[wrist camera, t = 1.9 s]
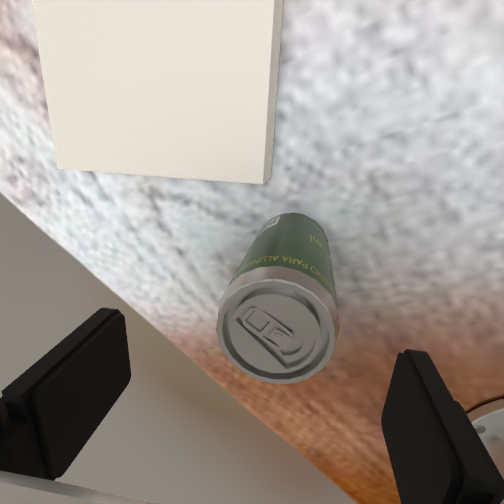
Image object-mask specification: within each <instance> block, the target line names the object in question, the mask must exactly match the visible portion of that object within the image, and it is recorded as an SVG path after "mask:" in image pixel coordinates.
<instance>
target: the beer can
mask: <svg viewBox="0 0 504 504" xmlns="http://www.w3.org/2000/svg"><path fill="white" fill-rule="evenodd" d="M339 329H340V328H339V315H338V307H337V300H336V293H335V286H334V280H333V273H332V266H331V259H330V253H329V246H328V240H327V237H326V235H325V233H324V231H323V229H322V228H321V227H320V226H319V225H318V224H317V223H316V222H315V221H314V220H312V219H310V218H308V217H306V216H304V215H299V214H294V213H292V214H283V215H280V216H277V217H275V218H273V219H271V220H270V221H269V222H268V223H267V224H266V225H264V226H263V228H262V229H261V231H260V233H259V234H258V236H257V238H256V240H255V241H254V243H253V245H252V246H251V248H250V250H249V251H248V253H247V255H246V256H245V258H244V260H243V262H242V263H241V265H240V267H239V268H238V270H237V272H236V273H235V275H234V277H233V278H232V280H231V282H230V284H229V285H228V287H227V289H226V291H225V293H224V294H223V296H222V298H221V300H220V305H219V312H218V322H217V329H216V330H217V334H218V339H219V344H220V346H221V348H222V350H223V351H224V353H225V355H226V356H227V358H228V359H229V360H230V361H231V362H232V363H233V364H234V365H235V366H236V367H237V368H238V369H239V370H240V371H242V372H243V373H245V374H247V375H249V376H251V377H253V378H254V379H257V380H261V381H264V382H268V383H272V384H291V383H295V382H299V381H302V380H306V379H308V378H310V377H311V376H313V375H314V374H316V373H318V372H319V371H321V370H322V368H323V367H324V366H325V365H326V363H327V362H328V361H329V360H330V358H331V356H332V352H333V349H334V346H335V343H336V339H337V336H338V332H339Z"/></svg>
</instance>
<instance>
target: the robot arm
mask: <svg viewBox="0 0 504 504" xmlns="http://www.w3.org/2000/svg"><path fill="white" fill-rule="evenodd" d="M130 378H131V370H130V360H129V351H128V343H127V334H126V326H125V317H124V315H123V314H121V312H120V311H119V310H118V309H110V308H101V309H99V310H98V311H97V312H96V313H94V314H93V315H92V316H91V317H90V318H88V319H87V320H86V321H85V322H84V323H82V324H81V325H80V326H79V327H78V328H76V329H75V330H74V331H73V332H72V333H71V334H69V335H68V336H67V337H66V338H65V339H63V340H62V341H61V342H60V343H59V344H57V345H56V346H55V347H54V348H53V349H51V350H50V351H49V352H48V353H47V354H45V355H44V356H43V357H42V358H41V359H40V360H38V361H37V362H36V363H35V364H34V365H32V366H31V367H30V368H29V369H28V370H26V371H25V372H24V373H23V374H22V375H20V376H19V377H18V378H17V379H16V380H14V381H13V382H12V383H11V384H10V385H8V386H7V387H6V388H5V389H4V390H2V395H3V396H2V397H1V398H0V504H157V503H153V502H148V501H144V500H139V499H135V498H130V497H125V496H120V495H116V494H112V493H107V492H103V491H98V490H93V489H89V488H84V487H79V486H75V485H70V484H65V483H61V482H56V481H54V480H55V479H56V478H59V477H61V476H62V475H63V474H64V473H65V472H66V470H67V469H68V467H69V466H70V465H71V463H72V462H73V461H74V459H75V458H76V456H77V455H78V453H79V452H80V451H81V449H82V448H83V447H84V445H85V444H86V442H87V441H88V440H89V438H90V437H91V435H92V434H93V433H94V431H95V430H96V429H97V427H98V426H99V424H100V423H101V421H102V420H103V419H104V417H105V416H106V415H107V413H108V412H109V410H110V409H111V408H112V406H113V405H114V403H115V402H116V401H117V399H118V398H119V396H120V395H121V394H122V392H123V391H124V389H125V388H126V387H127V385H128V384H129V381H130ZM381 424H382V430H383V434H384V438H385V442H386V446H387V449H388V453H389V457H390V461H391V465H392V469H393V473H394V477H395V480H396V484H397V488H398V492H399V496H400V500H401V504H504V399H500V400H496V401H494V402H491V403H488V404H485V405H483V406H481V407H479V408H477V409H475V410H473V411H471V412H470V413H468V414H466V413H465V411H464V409H463V408H462V406H461V405H460V403H458V402H457V401H455V400H453V398H452V396H451V394H450V392H449V391H448V389H447V387H446V385H445V383H444V382H443V380H442V378H441V376H440V374H439V373H438V371H437V369H436V367H435V365H434V364H433V362H432V360H431V358H430V357H429V355H428V353H427V352H424V351H417V350H409V349H406V350H405V351H404V353H399V354H398V356H397V360H396V363H395V367H394V371H393V375H392V379H391V382H390V386H389V390H388V394H387V398H386V401H385V405H384V409H383V413H382V418H381Z"/></svg>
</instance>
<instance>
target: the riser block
mask: <svg viewBox="0 0 504 504" xmlns="http://www.w3.org/2000/svg"><path fill="white" fill-rule="evenodd" d="M283 2H284V0H31V3H32V10H33V16H34V22H35V29H36V35H37V41H38V48H39V54H40V61H41V67H42V73H43V80H44V86H45V93H46V99H47V105H48V112H49V118H50V124H51V131H52V137H53V144H54V150H55V156H56V163H57V169H70V170H83V171H96V172H109V173H122V174H135V175H148V176H160V177H173V178H186V179H199V180H212V181H225V182H238V183H251V184H264V183H265V182H266V181H267V180H269V179H270V178H271V171H272V157H273V143H274V129H275V115H276V101H277V87H278V73H279V58H280V44H281V30H282V16H283Z"/></svg>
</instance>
